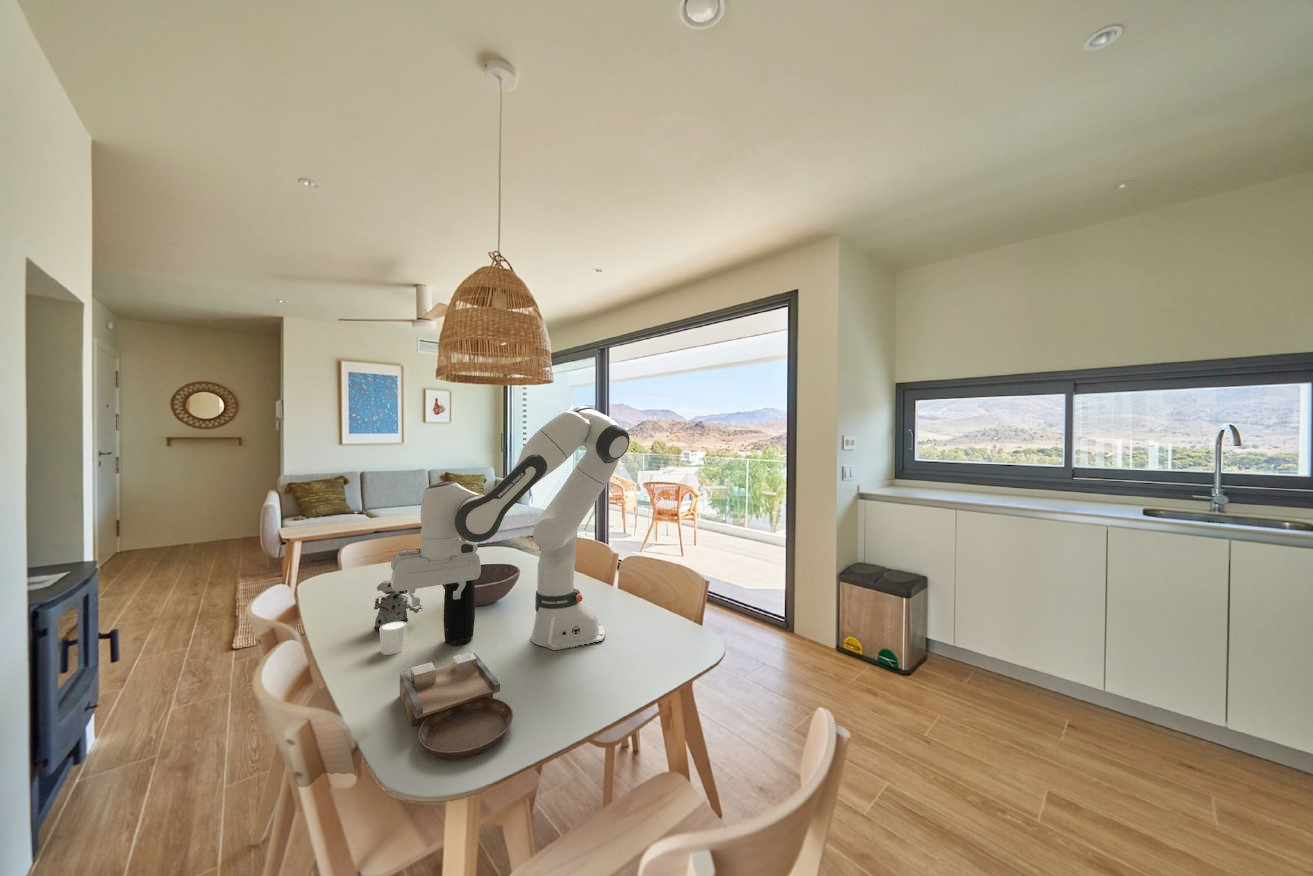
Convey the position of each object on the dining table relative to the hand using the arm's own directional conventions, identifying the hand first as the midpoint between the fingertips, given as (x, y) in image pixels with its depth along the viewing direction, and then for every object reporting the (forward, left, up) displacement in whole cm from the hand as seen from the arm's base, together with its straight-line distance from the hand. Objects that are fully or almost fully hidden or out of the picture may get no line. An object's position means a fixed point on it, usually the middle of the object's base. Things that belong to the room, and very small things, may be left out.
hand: (436, 602), depth 114 cm
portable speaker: (-1, -23, -20) cm, 30 cm away
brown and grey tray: (-5, +10, -19) cm, 23 cm away
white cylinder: (+16, -20, -20) cm, 32 cm away
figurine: (+20, -37, -20) cm, 46 cm away
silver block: (-8, +5, -15) cm, 18 cm away
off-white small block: (+1, +9, -15) cm, 18 cm away
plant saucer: (-11, +24, -20) cm, 33 cm away
